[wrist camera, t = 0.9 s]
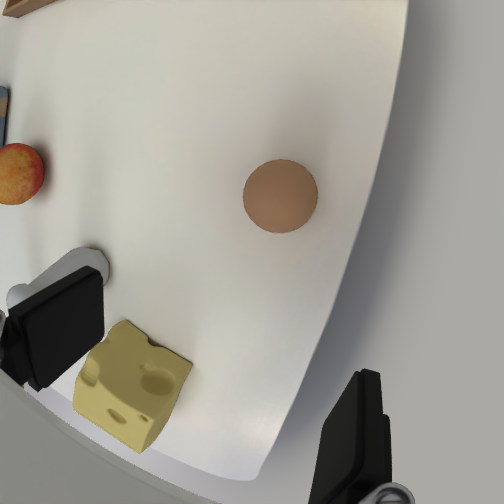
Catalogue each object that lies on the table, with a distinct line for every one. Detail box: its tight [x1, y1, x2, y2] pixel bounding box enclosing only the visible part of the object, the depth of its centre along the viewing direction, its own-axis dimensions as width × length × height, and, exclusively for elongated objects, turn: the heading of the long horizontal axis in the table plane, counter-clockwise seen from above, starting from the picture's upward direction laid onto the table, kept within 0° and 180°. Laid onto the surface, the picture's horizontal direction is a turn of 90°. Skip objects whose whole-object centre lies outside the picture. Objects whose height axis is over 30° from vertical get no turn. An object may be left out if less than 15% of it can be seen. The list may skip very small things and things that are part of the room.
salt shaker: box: [6, 247, 109, 309], centre depth 28 cm, size 6×6×13 cm
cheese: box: [73, 320, 192, 454], centre depth 32 cm, size 10×11×10 cm
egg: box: [243, 159, 318, 233], centre depth 22 cm, size 5×5×8 cm
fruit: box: [0, 143, 44, 205], centre depth 29 cm, size 8×8×8 cm
